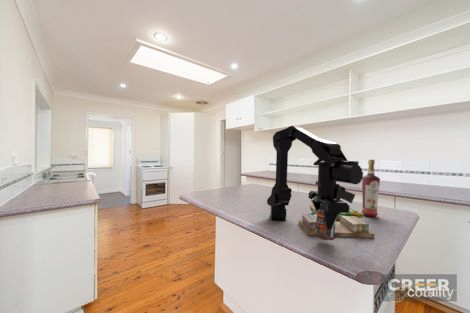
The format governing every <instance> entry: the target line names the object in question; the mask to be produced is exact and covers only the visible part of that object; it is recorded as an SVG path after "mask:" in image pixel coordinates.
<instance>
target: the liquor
mask: <svg viewBox="0 0 470 313" xmlns="http://www.w3.org/2000/svg"><path fill="white" fill-rule="evenodd" d="M375 162H376V160H375V159H368V160H367V164H368V167H367V174H366V175H363V178H362V180H361V187H362V190H361V191H362V192H361V194H362V210H361V214H363V216H365V217H368V218H375V217H377V216H378V215H379V213H378V203H379V202H378V201H379V193H380V181H381V179H380V178H379V176H377V175H375Z"/></svg>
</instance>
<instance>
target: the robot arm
mask: <svg viewBox="0 0 470 313" xmlns="http://www.w3.org/2000/svg"><path fill="white" fill-rule="evenodd" d="M295 140H298V141H300V142H301V143H302V144H304V145H306V146H308V147H309V148H310V149H311V152H312V154H313V155H315V157H316V158H317V160H316V161H314V162H313V163H312V164H313V166H317V168H318V171H317V181H315V185H317V190H310V191H309V192H308V199H310V201H311V204H312V205H313V206H314V208H315V210H316V213H317V210H318V209H320V204H321V203H324V208H322V212H323V215H324V219H325V222H326V225H327V228H328V229H332V227H333V224H334V222H335V219H336V217H337V215H338V214H340V213H349V211H350V208H351V207H350V204H353V201H354V199H355V197H356V194H355V193H352V192H350V191H347V190H346V187H344V186H342V185H340V184H339V183H337V182H340V183H345V184H351V185H359V184H360V183H362V178H363V176H364V172H363V170H362V167H361V166H360V165H359V161H358V160H348V159H347V157H346V156H345V154H344V153H343V150H342V149H341V148H342V147H341V145H340V144H339V143H337V142H334V141H331V140H327V139H323V138H320V137H318V136H316V135H315V134H313V133H312V132H310V131H307V130H305V129H304V128H302V126H300V125H290V126H287V128H283V129H280V130H278V131H275V133H274V134H273V135H272V145H273V147H274V149H275V151H276V156H275V157H276V159H275V160H276V164H275V183H274V185H273V187H272V188H271V194H270V196H269V197H268V198H267V199H266V204H267V205H268V206H270V211H269V212H270V214H269V217H270V220H271V221H282V222H283V221H285V222H286V221H287V208H286V206H289V204H290V201H291V198H292V188H291V187H289V185H288V166H289V165H288V158H289V151H290V150H291V148H292V146H293V142H294V141H295ZM347 202H348V203H350V204H348V203H347Z"/></svg>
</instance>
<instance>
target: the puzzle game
mask: <svg viewBox="0 0 470 313" xmlns="http://www.w3.org/2000/svg"><path fill="white" fill-rule="evenodd" d="M309 209H310V211H311V212H312V215H317V213H316V210H315V208H314V206H313V204H312V205H309ZM340 216H355V217H357V218H359V219H362V218H364V214H363V213H362V212H359V211H358V210H355V209H354V208H352V207H350V211H349V213H340V214H338V215H337V217H336V221H338V222H340Z"/></svg>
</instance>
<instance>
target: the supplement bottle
mask: <svg viewBox="0 0 470 313" xmlns="http://www.w3.org/2000/svg"><path fill="white" fill-rule="evenodd" d="M322 208H324V203H321V204H320V209H318V210H317V217H316V236H315V237H317V238H319V239H321V240H322V241H323V240H324V241H333V240H335V237H336V236H335V223H336V222H337V220H336V219H335V222H334V224H333V227H332V229H328V228H327V225H326V222H325V219H324V215H323V212H322Z"/></svg>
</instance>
